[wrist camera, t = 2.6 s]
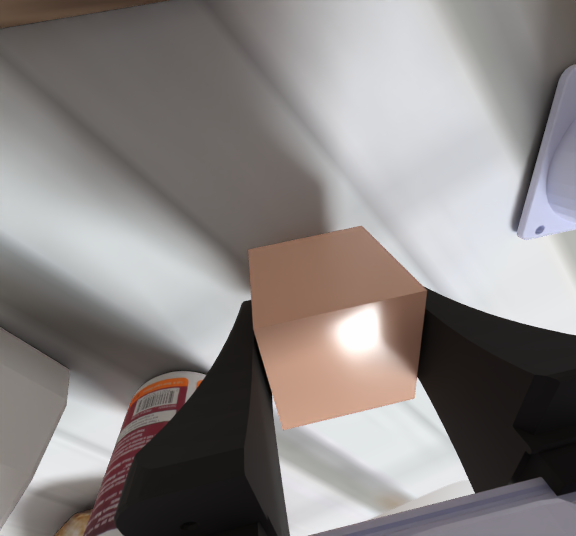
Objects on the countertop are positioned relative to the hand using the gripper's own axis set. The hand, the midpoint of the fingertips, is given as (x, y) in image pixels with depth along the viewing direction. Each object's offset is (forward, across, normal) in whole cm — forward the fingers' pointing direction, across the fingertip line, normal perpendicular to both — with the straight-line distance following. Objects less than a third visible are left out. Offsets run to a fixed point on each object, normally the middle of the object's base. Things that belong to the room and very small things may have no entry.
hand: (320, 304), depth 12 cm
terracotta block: (+2, 0, 0) cm, 2 cm away
